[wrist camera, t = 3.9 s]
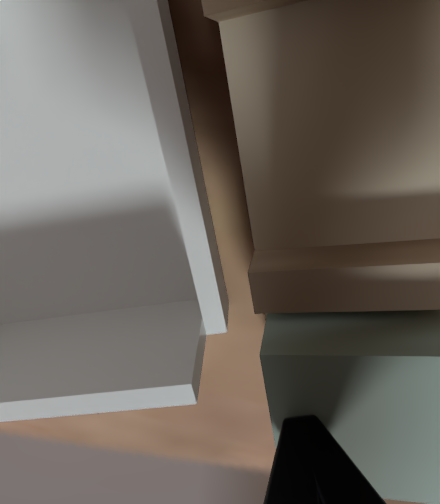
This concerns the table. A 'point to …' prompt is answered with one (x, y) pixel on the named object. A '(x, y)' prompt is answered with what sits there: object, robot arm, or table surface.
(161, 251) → the bin
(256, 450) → the table surface
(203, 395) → the table surface
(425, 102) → the lever
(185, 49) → the table surface
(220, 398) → the table surface
